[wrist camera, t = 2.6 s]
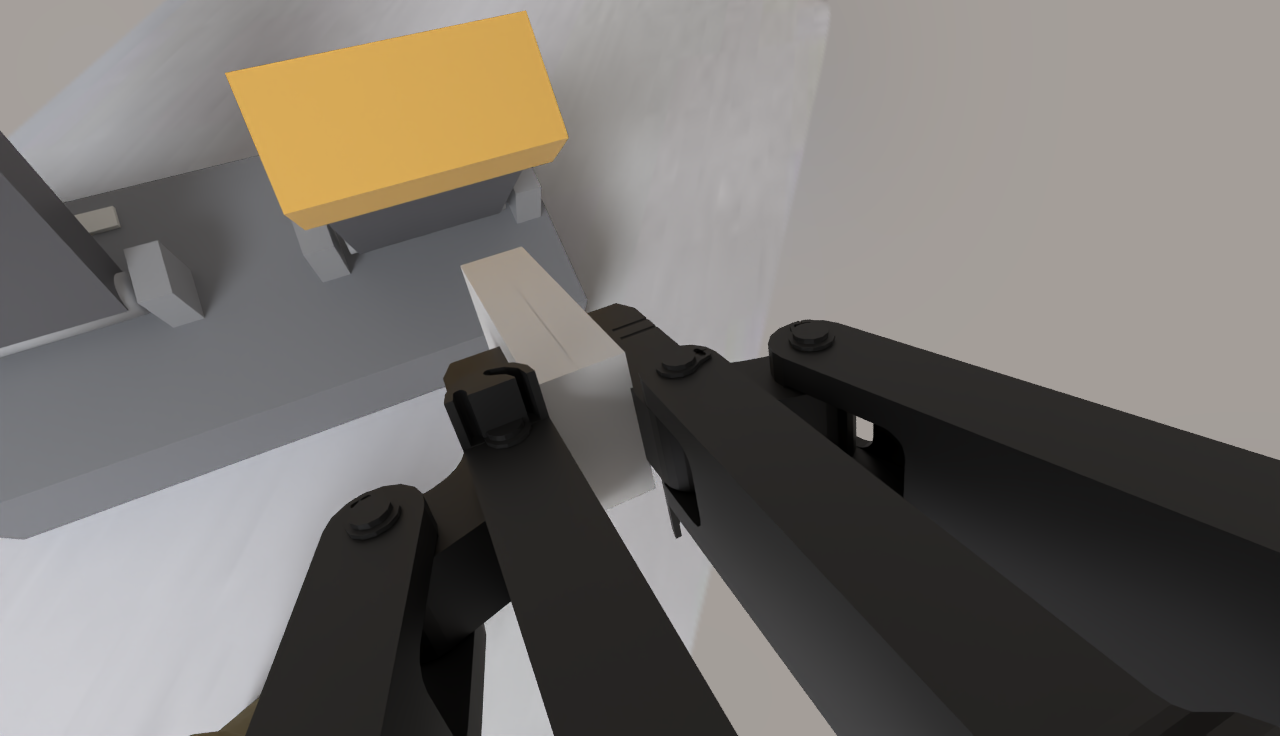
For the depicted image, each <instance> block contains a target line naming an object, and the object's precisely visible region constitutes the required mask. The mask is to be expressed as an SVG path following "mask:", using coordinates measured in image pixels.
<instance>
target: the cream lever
mask: <svg viewBox="0 0 1280 736" xmlns="http://www.w3.org/2000/svg"><path fill="white" fill-rule="evenodd" d="M147 314H150V311H148V310H147V309H146V308H144V307H143V306H141V305H140V304H138V303H137V299H136V295H135V291H134V288H133V284H132V280H131V276H130V273H129V271H124V272H123V271H122V270H121V269H120V268H119V267H118V266H117V264H116V263H115V262H114V261H113V260H112V259H111V258H110V256H109V255H108V254H107V253H106V252H105V251H104V250H103V248H102V247H101V246H100V245H99V244H98V243H97V241H96V240H95V239H94V238H93V237H92V236H91V235H90V233H89V232H88V231H87V230H86V229H85V228H84V227H83V225H82V224H81V223H80V222H79V221H78V220H77V218H76V217H75V216H74V215H73V214H72V213H71V212H70V210H69V209H68V208H67V207H66V206H65V205H64V204H63V202H62V201H61V200H60V199H59V198H58V197H57V195H56V194H55V193H54V192H53V191H52V190H51V189H50V187H49V186H48V185H47V184H46V183H45V182H44V181H43V179H42V178H41V177H40V176H39V175H38V174H37V172H36V171H35V170H34V169H33V168H32V167H31V166H30V164H29V163H28V162H27V161H26V160H25V159H24V158H23V156H22V155H21V154H20V153H19V152H18V151H17V150H16V148H15V147H14V146H13V145H12V144H11V143H10V141H9V140H8V139H7V138H6V137H5V136H4V135H3V134H2V132H1V131H0V357H4V356H7V355H11V354H14V353H18V352H21V351H24V350H28V349H31V348H35V347H38V346H41V345H45V344H48V343H52V342H55V341H58V340H62V339H65V338H69V337H72V336H75V335H79V334H82V333H86V332H89V331H92V330H96V329H99V328H103V327H106V326H109V325H113V324H116V323H120V322H123V321H126V320H130V319H133V318H137V317H140V316H143V315H147Z"/></svg>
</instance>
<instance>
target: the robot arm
mask: <svg viewBox="0 0 1280 736" xmlns="http://www.w3.org/2000/svg"><path fill="white" fill-rule="evenodd" d="M460 267H461V270H462V272H463V275H464V278H465V281H466V284H467V287H468V290H469V292H470V295H471V298H472V301H473V304H474V307H475V310H476V312H477V315H478V318H479V321H480V324H481V327H482V330H483V332H484V335H485V338H486V341H487V344H488V347H489V350H487V351H484V352H481V353H479V354H476V355H473V356H470V357H467V358H464V359H461V360H459V361H456V362H453V363H450V364H449V367H448V369H447V371H446V373H445V375H444V377H443V380H444V383H445V387H446V390H447V393H446V394H445V399H444V405H445V408H446V410H447V413H448V415H449V417H450V420H451V422H452V425H453V427H454V430H455V432H456V434H457V437H458V439H459V442H460V444H461V447H462V449H463V452H464V454H463V457H462V460H461V462H460V463H459V465H458V466H457V468H456V469H455V470H454V471H453V472H452V473H451V474H450V475H449V476H448V477H447V478H446V479H445V480H443V481H442V482H441V483H439V484H438V485H437V486H435V487H434V488H432V489H431V490H429V491H427V492H426V493H424V494H422V493H421V492H420V491H419V490H418V489H417V488H415V487H413V486H408V485H403V484H398V485H390V486H383V487H380V488H377V489H375V490H372V491H369V492H366V493H364V494H362V495H360V496H358V497H357V498H355V499H353V500H352V501H350V502H349V503H348V504H346V505H345V506H344V507H343V508H342V509H341V510H339V511H338V512H337V513H336V514H335V515H334V516H333V517H332V518H331V520H330V521H329V523H328V524H327V526H326V528H325V529H324V531H323V533H322V535H321V538H320V541H319V543H318V546H317V548H316V551H315V554H314V556H313V559H312V562H311V564H310V567H309V569H308V572H307V575H306V577H305V580H304V583H303V585H302V588H301V590H300V593H299V596H298V598H297V601H296V603H295V606H294V609H293V611H292V614H291V617H290V619H289V622H288V624H287V627H286V630H285V632H284V635H283V638H282V640H281V643H280V645H279V648H278V651H277V653H276V656H275V659H274V661H273V664H272V666H271V669H270V672H269V674H268V677H267V680H266V682H265V685H264V687H263V690H262V693H261V695H260V698H259V701H258V703H257V706H256V708H255V711H254V714H253V716H252V719H251V721H250V724H249V727H248V729H247V732H246V735H245V736H481V730H482V710H483V690H484V670H485V649H486V631H485V626H484V622H486V621H487V620H488V619H489V618H491V617H492V616H493V615H494V614H496V613H497V612H498V611H499V610H501V609H502V608H503V607H504V606H506V605H507V604H508V603H509V602H512V605H513V608H514V612H515V615H516V618H517V621H518V624H519V627H520V630H521V633H522V637H523V640H524V643H525V646H526V649H527V652H528V655H529V659H530V662H531V665H532V668H533V671H534V674H535V677H536V681H537V684H538V687H539V690H540V693H541V696H542V699H543V702H544V706H545V709H546V712H547V715H548V718H549V721H550V724H551V728H552V731H553V734H554V736H738V735H737V733H736V732H735V730H734V728H733V727H732V725H731V723H730V722H729V720H728V718H727V717H726V715H725V713H724V711H723V710H722V708H721V707H720V705H719V703H718V701H717V700H716V698H715V696H714V694H713V693H712V691H711V689H710V688H709V686H708V684H707V682H706V681H705V679H704V677H703V676H702V674H701V672H700V671H699V669H698V667H697V666H696V664H695V662H694V661H693V659H692V657H691V655H690V654H689V652H688V650H687V649H686V647H685V645H684V644H683V642H682V640H681V639H680V637H679V635H678V634H677V632H676V630H675V628H674V627H673V625H672V623H671V622H670V620H669V618H668V617H667V615H666V613H665V612H664V610H663V608H662V606H661V605H660V603H659V601H658V600H657V598H656V596H655V595H654V593H653V591H652V590H651V588H650V586H649V585H648V583H647V581H646V579H645V578H644V576H643V574H642V573H641V571H640V569H639V568H638V566H637V564H636V563H635V561H634V559H633V557H632V556H631V554H630V552H629V551H628V549H627V547H626V546H625V544H624V542H623V541H622V539H621V537H620V536H619V534H618V532H617V530H616V529H615V527H614V525H613V524H612V522H611V520H610V519H609V517H608V515H607V514H606V512H605V510H607V509H610V508H612V507H614V506H616V505H619V504H621V503H623V502H625V501H628V500H630V499H632V498H634V497H637V496H639V495H641V494H643V493H646V492H648V491H650V490H652V489H655V484H654V479H653V475H652V470H651V466H650V464H651V465H652V467H653V468H654V469H655V471H656V472H657V473H658V475H659V476H660V477H661V479H662V483H663V488H664V492H665V497H666V502H667V506H668V511H669V516H670V520H671V525H672V529H673V532H674V535H675V537H676V538H678V537H681V536H682V534H681V530H680V525H679V524H680V521H681V523H682V524H683V526H684V527H685V528H686V530H687V531H688V532H689V534H690V535H691V536H692V538H693V539H694V541H695V542H696V543H697V545H698V546H699V547H700V549H701V550H702V551H703V553H704V554H705V556H706V557H707V558H708V560H709V561H710V562H711V564H712V565H713V567H714V568H715V569H716V571H717V572H718V573H719V575H720V576H721V577H722V579H723V580H724V582H725V583H726V584H727V586H728V587H729V588H730V589H731V591H732V592H733V594H734V595H735V597H736V598H737V599H738V601H739V602H740V603H741V605H742V606H743V607H744V609H745V610H746V612H747V613H748V614H749V615H750V617H751V618H752V620H753V621H754V623H755V624H756V625H757V626H758V628H759V629H760V631H761V632H762V633H763V635H764V636H765V637H766V639H767V640H768V642H769V643H770V644H771V646H772V647H773V648H774V650H775V651H776V653H777V654H778V655H779V657H780V658H781V659H782V661H783V662H784V664H785V665H786V666H787V667H788V669H789V670H790V672H791V673H792V674H793V676H794V677H795V678H796V680H797V681H798V682H799V684H800V685H801V687H802V688H803V689H804V691H805V692H806V694H807V695H808V696H809V698H810V699H811V700H812V702H813V703H814V704H815V706H816V707H817V709H818V710H819V711H820V713H821V714H822V715H823V717H824V718H825V719H826V721H827V722H828V724H829V725H830V726H831V728H832V729H833V730H834V732H835V733H836V734H837V736H1280V460H1277V459H1273V458H1271V457H1267V456H1264V455H1261V454H1258V453H1254V452H1251V451H1248V450H1245V449H1241V448H1238V447H1235V446H1232V445H1229V444H1226V443H1222V442H1219V441H1216V440H1212V439H1209V438H1206V437H1203V436H1200V435H1197V434H1193V433H1190V432H1187V431H1183V430H1180V429H1177V428H1174V427H1170V426H1167V425H1164V424H1161V423H1158V422H1155V421H1151V420H1148V419H1145V418H1142V417H1138V416H1135V415H1132V414H1129V413H1126V412H1122V411H1119V410H1116V409H1113V408H1110V407H1106V406H1103V405H1100V404H1097V403H1093V402H1090V401H1087V400H1084V399H1081V398H1078V397H1074V396H1071V395H1068V394H1065V393H1061V392H1058V391H1055V390H1052V389H1049V388H1045V387H1042V386H1039V385H1035V384H1032V383H1029V382H1026V381H1023V380H1020V379H1016V378H1013V377H1010V376H1007V375H1003V374H1000V373H997V372H993V371H990V370H987V369H984V368H981V367H978V366H974V365H971V364H968V363H965V362H962V361H958V360H955V359H952V358H949V357H946V356H942V355H939V354H936V353H933V352H929V351H926V350H923V349H920V348H916V347H913V346H910V345H907V344H904V343H901V342H897V341H894V340H891V339H888V338H885V337H881V336H878V335H875V334H871V333H868V332H865V331H862V330H859V329H855V328H852V327H849V326H846V325H843V324H839V323H835V322H830V321H824V320H802V321H801V322H799V321H797V322H794V323H791V324H789V325H786V326H784V327H782V328H780V329H778V330H777V331H776V332H775V333H773V334H772V335H771V336H770V339H769V342H768V349H769V356H767V357H762V358H757V359H751V360H746V361H740V362H732V363H730V362H729V361H727V360H726V359H725V358H723V357H722V356H721V355H720V354H718V353H717V352H716V351H713V350H711V349H709V348H707V347H704V346H697V345H683V346H679V345H678V344H677V343H676V342H675V341H673V340H672V339H671V338H670V337H669V336H667V335H666V334H665V333H664V332H663V331H662V330H660V329H659V328H658V327H655V325H654V324H653V323H652V322H651V321H650V320H648V319H646V317H645V316H644V315H642V314H641V313H640V312H639V311H638V310H637V309H635V308H633V307H629V306H625V305H621V304H617V303H615V304H612V305H610V306H607V307H604V308H601V309H598V310H595V311H592V312H590V313H586V312H585V311H584V310H583V309H582V308H581V307H580V306H579V305H578V304H577V303H576V302H575V301H574V300H573V299H572V298H571V296H570V295H569V294H568V293H567V292H566V291H565V290H564V289H563V288H562V287H561V286H560V285H559V284H558V283H557V282H556V281H555V280H554V279H553V278H552V277H551V276H550V275H549V274H548V273H547V272H546V271H545V270H544V269H543V268H542V267H541V266H540V265H539V264H538V263H537V262H536V261H535V260H534V259H533V258H532V257H531V255H530V254H529V253H528V252H527V251H526V250H525V249H524V248H523V247H518V248H515V249H512V250H509V251H505V252H502V253H499V254H496V255H493V256H489V257H486V258H483V259H480V260H477V261H473V262H470V263H467V264H464V265H461V266H460ZM856 416H858V417H860V418H863V419H865V420H867V421H869V422H872V423H873V441H867V440H863V439H861V438H859V437H857V436H856Z"/></svg>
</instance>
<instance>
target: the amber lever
mask: <svg viewBox="0 0 1280 736" xmlns="http://www.w3.org/2000/svg"><path fill="white" fill-rule="evenodd" d="M225 74H226V77H227V79H228V82H229V84H230V86H231V89H232V91H233V94H234V96H235V98H236V101H237V103H238V106H239V108H240V110H241V113H242V115H243V118H244V120H245V122H246V125H247V127H248V130H249V132H250V134H251V137H252V139H253V142H254V144H255V146H256V149H257V151H258V154H259V156H260V158H261V161H262V163H263V166H264V168H265V170H266V173H267V175H268V178H269V180H270V182H271V185H272V187H273V190H274V192H275V194H276V197H277V199H278V202H279V204H280V206H281V209H282V211H283V214H284V215H285V216H286V217H288V218H289V219H291V220H292V221H293V222H295V223H296V224H297V225H299V226H300V227H301V228H303V229H304V230H309V229H312V228H316V227H319V226H323V225H326V224H328V225H329V226H330V227H331V228H332V229H333V230H335V231H336V232H337V233H338V234H339V235H340V236H341V237H342V238H343V239H344V241H345V243H346V245H347V247H348V249H349V251H350V253H351V254H354V253H359V254H362V253H366V252H369V251H372V250H376V249H379V248H382V247H386V246H389V245H393V244H396V243H399V242H403V241H406V240H410V239H413V238H416V237H420V236H423V235H427V234H430V233H433V232H437V231H440V230H444V229H447V228H450V227H454V226H457V225H461V224H464V223H467V222H471V221H474V220H477V219H481V218H484V217H488V216H491V215H494V214H498V213H500V212H501V210H504V209H506V204H505V203H506V201H507V199H508V197H509V195H510V193H511V191H512V189H513V187H514V185H515V183H516V181H517V180H518V178H519V176H520V174H521V172H522V170H524V169H528V168H531V167H535V166H538V165H542V164H546V163H549V162H553V160H554V159H555V157H556V156H557V154H558V153H559V151H560V150H561V148H562V147H563V145H564V144H565V142H566V141H567V140H568V138H569V137H568V134H567V131H566V128H565V125H564V122H563V119H562V116H561V113H560V110H559V107H558V104H557V101H556V99H555V96H554V93H553V90H552V87H551V84H550V81H549V78H548V75H547V72H546V69H545V66H544V63H543V60H542V57H541V54H540V51H539V48H538V45H537V42H536V39H535V36H534V33H533V30H532V27H531V24H530V21H529V18H528V15H527V12H526V11H522V12H517V13H512V14H507V15H502V16H497V17H493V18H488V19H483V20H478V21H473V22H468V23H464V24H459V25H454V26H449V27H444V28H440V29H435V30H430V31H425V32H420V33H415V34H411V35H406V36H401V37H396V38H391V39H386V40H382V41H377V42H372V43H367V44H362V45H357V46H353V47H348V48H343V49H338V50H333V51H328V52H324V53H319V54H314V55H309V56H304V57H300V58H295V59H290V60H285V61H280V62H275V63H271V64H266V65H261V66H256V67H251V68H246V69H242V70H237V71H232V72H227V73H225Z"/></svg>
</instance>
